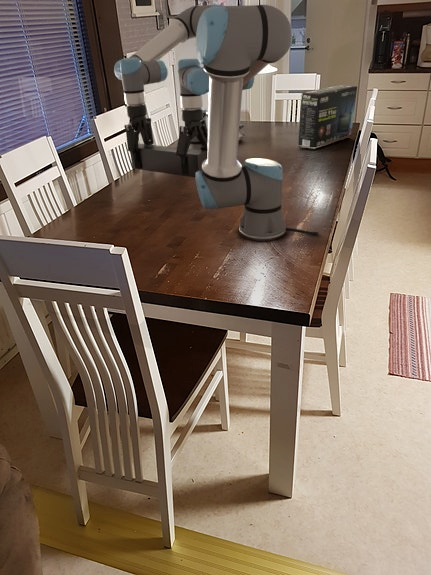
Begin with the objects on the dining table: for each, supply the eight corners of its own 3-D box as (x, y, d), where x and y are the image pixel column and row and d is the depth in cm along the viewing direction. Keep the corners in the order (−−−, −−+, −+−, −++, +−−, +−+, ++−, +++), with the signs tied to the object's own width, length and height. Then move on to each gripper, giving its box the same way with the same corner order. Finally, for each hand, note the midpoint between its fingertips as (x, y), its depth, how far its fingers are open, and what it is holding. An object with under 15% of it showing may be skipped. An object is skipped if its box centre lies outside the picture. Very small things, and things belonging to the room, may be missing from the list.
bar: (207, 173, 172) (205, 150, 168) (199, 178, 168) (197, 154, 164) (141, 164, 186) (138, 143, 182) (132, 168, 182) (129, 146, 178)
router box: (314, 151, 231) (318, 94, 217) (296, 148, 237) (299, 92, 224) (352, 138, 251) (358, 85, 238) (335, 135, 258) (340, 83, 245)
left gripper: (143, 99, 179) (150, 158, 191) (111, 108, 165) (121, 171, 177) (158, 100, 175) (165, 160, 188) (127, 109, 162) (136, 174, 174)
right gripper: (201, 102, 170) (204, 160, 181) (162, 114, 152) (168, 177, 162) (218, 103, 167) (220, 161, 177) (181, 115, 148) (185, 179, 159)
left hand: (143, 165), depth 182 cm, fingers closed on bar, 6 cm apart
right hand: (195, 169), depth 170 cm, fingers open, 13 cm apart
